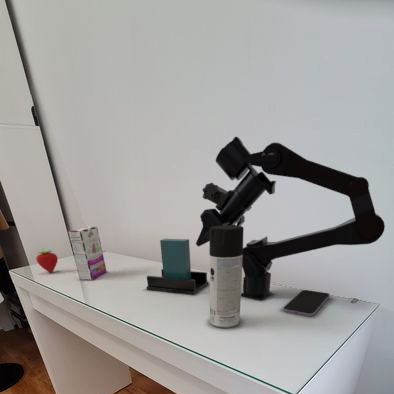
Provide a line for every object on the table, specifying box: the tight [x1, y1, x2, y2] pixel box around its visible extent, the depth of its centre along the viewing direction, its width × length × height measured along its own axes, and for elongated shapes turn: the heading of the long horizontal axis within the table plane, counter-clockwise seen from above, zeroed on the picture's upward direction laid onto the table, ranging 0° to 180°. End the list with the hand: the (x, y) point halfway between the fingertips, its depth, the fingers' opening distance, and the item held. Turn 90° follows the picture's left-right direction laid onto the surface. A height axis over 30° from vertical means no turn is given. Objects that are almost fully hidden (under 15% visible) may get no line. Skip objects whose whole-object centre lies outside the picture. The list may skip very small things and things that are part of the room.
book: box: [159, 238, 192, 279], centre depth 86 cm, size 3×8×13 cm, turn 65°
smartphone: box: [282, 289, 331, 317], centre depth 72 cm, size 7×1×15 cm
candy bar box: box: [68, 225, 108, 281], centre depth 101 cm, size 11×5×16 cm, turn 168°
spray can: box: [208, 225, 245, 329], centre depth 59 cm, size 7×7×20 cm
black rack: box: [146, 268, 209, 296], centre depth 88 cm, size 16×11×4 cm
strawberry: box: [36, 248, 58, 274], centre depth 110 cm, size 6×8×10 cm
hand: (204, 242), depth 79 cm, fingers open, 9 cm apart
